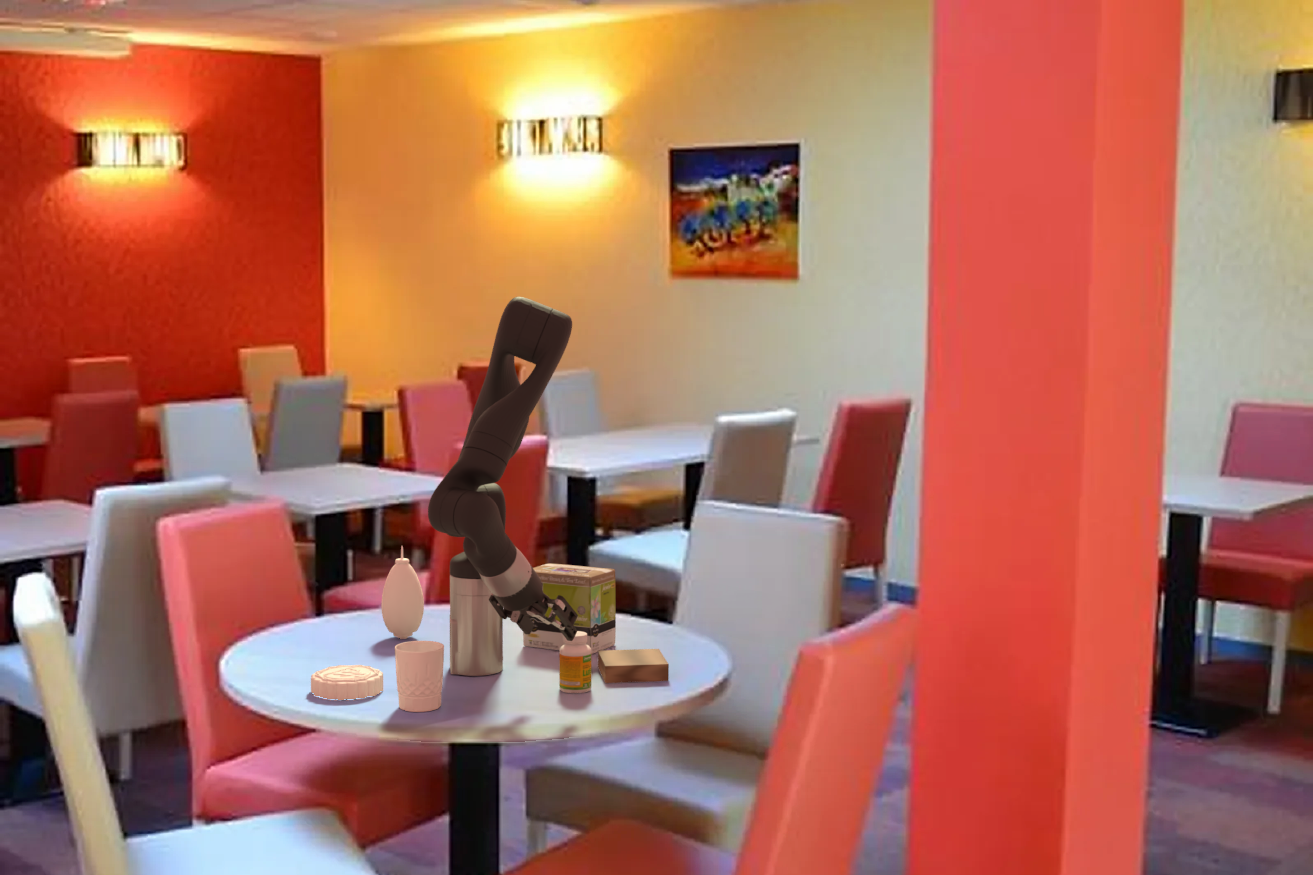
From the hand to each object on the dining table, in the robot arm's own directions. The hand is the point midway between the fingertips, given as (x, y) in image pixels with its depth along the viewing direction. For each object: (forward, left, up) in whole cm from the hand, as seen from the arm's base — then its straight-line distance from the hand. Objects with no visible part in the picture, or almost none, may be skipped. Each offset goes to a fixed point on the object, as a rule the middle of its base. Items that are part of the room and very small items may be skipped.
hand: (551, 633), depth 260 cm
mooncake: (-33, +9, -12) cm, 37 cm away
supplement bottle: (+5, +5, -11) cm, 13 cm away
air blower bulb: (-24, +46, -11) cm, 54 cm away
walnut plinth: (+16, +14, -11) cm, 24 cm away
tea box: (+7, +36, -11) cm, 39 cm away
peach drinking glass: (-21, -2, -11) cm, 24 cm away
